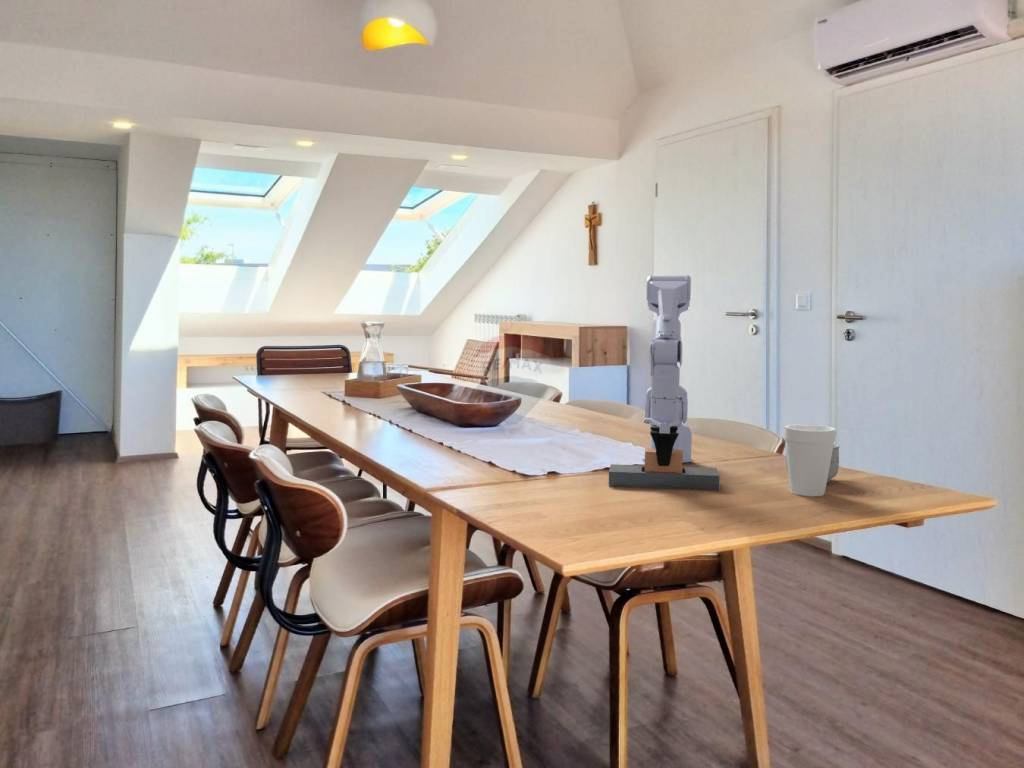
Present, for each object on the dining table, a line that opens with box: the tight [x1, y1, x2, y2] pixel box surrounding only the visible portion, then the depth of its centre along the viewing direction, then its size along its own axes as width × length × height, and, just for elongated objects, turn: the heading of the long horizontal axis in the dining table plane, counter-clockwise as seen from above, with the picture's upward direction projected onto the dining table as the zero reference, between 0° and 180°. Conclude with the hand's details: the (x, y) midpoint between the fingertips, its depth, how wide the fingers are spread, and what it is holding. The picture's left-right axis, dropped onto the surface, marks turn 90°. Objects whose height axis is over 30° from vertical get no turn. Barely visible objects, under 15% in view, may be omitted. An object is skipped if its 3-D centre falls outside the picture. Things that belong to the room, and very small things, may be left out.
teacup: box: [784, 443, 841, 483], centre depth 174 cm, size 14×11×8 cm
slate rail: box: [608, 463, 720, 492], centre depth 169 cm, size 22×8×3 cm, turn 80°
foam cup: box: [783, 423, 837, 497], centre depth 162 cm, size 10×9×13 cm
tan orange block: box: [644, 448, 684, 473], centre depth 169 cm, size 8×4×7 cm, turn 81°
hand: (663, 463), depth 169 cm, fingers open, 5 cm apart
